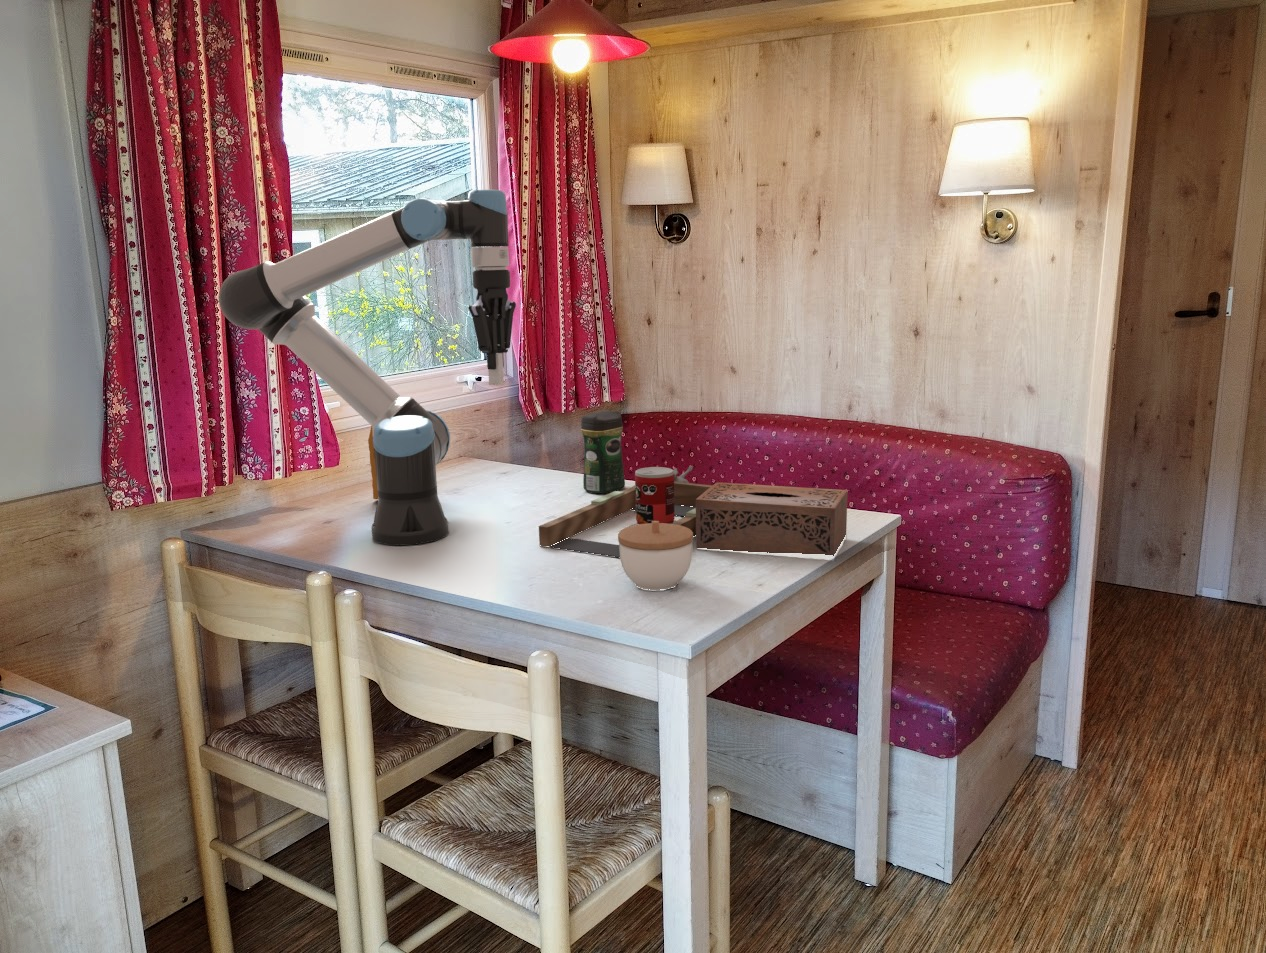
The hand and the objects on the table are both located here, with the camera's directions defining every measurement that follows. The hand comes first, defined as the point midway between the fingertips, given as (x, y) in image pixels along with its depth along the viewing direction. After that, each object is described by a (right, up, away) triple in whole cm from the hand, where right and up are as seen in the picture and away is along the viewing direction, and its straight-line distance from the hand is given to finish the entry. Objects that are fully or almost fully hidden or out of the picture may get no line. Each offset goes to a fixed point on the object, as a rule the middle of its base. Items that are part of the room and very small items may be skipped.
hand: (496, 384), depth 216 cm
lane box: (+31, -30, -5) cm, 43 cm away
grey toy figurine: (+40, -24, +21) cm, 51 cm away
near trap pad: (+22, -33, -19) cm, 44 cm away
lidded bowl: (+32, -38, -40) cm, 64 cm away
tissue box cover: (+55, -32, -18) cm, 66 cm away
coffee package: (-25, -25, +23) cm, 42 cm away
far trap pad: (+38, -27, +7) cm, 47 cm away
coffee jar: (+21, -22, +28) cm, 42 cm away
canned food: (+33, -29, -1) cm, 44 cm away
